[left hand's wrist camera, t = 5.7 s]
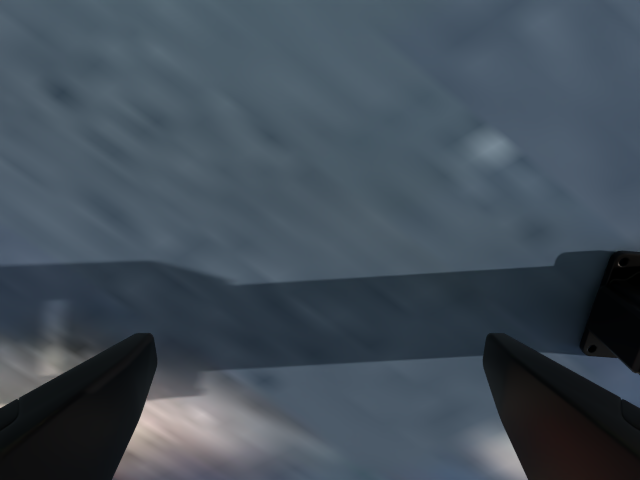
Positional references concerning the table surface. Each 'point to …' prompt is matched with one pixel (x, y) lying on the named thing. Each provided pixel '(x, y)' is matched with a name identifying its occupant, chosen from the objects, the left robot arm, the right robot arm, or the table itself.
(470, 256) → the table surface
